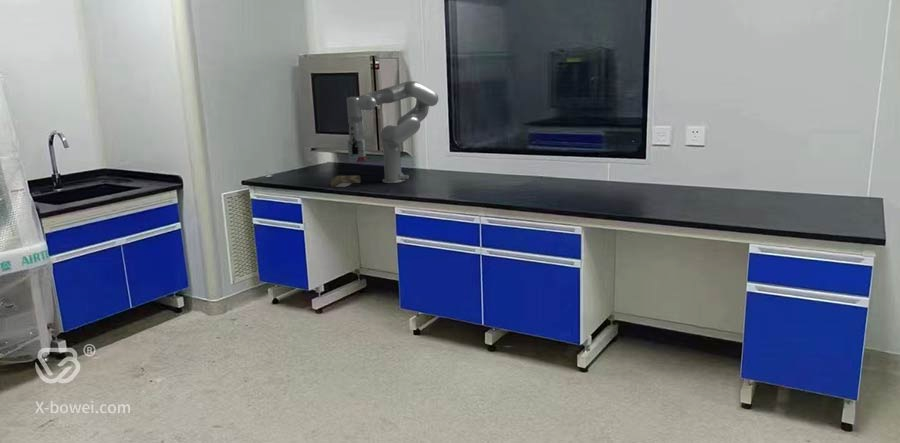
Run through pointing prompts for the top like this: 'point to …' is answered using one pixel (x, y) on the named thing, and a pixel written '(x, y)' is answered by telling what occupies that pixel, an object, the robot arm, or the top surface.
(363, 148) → the ink box
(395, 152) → the robot arm
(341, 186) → the pad
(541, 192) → the top surface
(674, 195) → the top surface
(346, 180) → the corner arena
